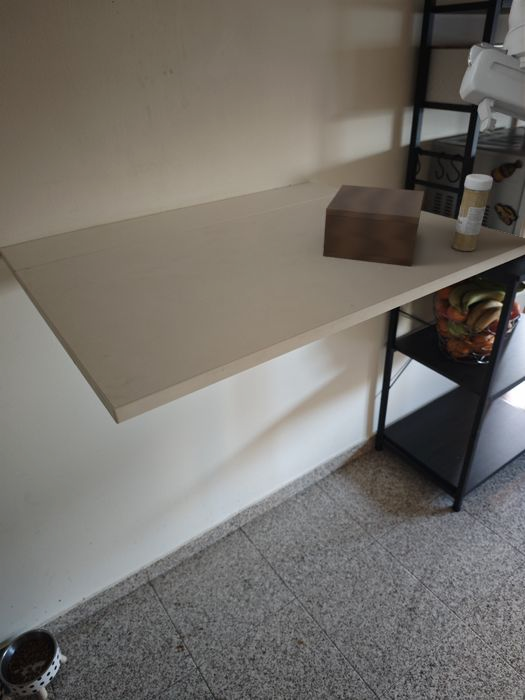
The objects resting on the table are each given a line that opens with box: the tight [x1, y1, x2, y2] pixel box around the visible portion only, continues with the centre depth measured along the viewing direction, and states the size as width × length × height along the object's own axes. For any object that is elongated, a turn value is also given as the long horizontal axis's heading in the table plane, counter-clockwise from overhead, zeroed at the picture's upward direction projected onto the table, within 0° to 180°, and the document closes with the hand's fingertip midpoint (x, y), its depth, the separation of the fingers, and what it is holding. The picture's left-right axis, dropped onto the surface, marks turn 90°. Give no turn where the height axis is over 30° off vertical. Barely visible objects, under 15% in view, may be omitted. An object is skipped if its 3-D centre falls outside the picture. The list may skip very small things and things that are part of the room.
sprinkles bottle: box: [451, 173, 494, 252], centre depth 92 cm, size 5×5×13 cm
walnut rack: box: [322, 184, 425, 267], centre depth 95 cm, size 16×16×9 cm
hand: (513, 140), depth 80 cm, fingers open, 8 cm apart
